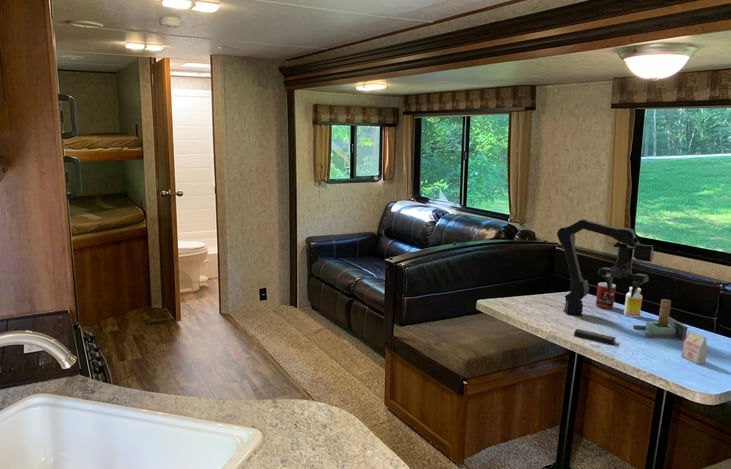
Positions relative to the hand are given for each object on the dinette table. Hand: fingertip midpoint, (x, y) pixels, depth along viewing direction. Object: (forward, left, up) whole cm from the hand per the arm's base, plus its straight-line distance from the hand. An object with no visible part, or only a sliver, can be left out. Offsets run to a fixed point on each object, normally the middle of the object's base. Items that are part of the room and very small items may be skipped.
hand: (620, 294), depth 235 cm
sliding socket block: (+13, -11, -13) cm, 21 cm away
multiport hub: (-19, -20, -14) cm, 30 cm away
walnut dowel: (+13, -11, -12) cm, 21 cm away
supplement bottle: (+13, +12, -13) cm, 22 cm away
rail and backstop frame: (+11, -11, -13) cm, 20 cm away
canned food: (+6, +24, -13) cm, 28 cm away
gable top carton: (+10, -38, -13) cm, 41 cm away
